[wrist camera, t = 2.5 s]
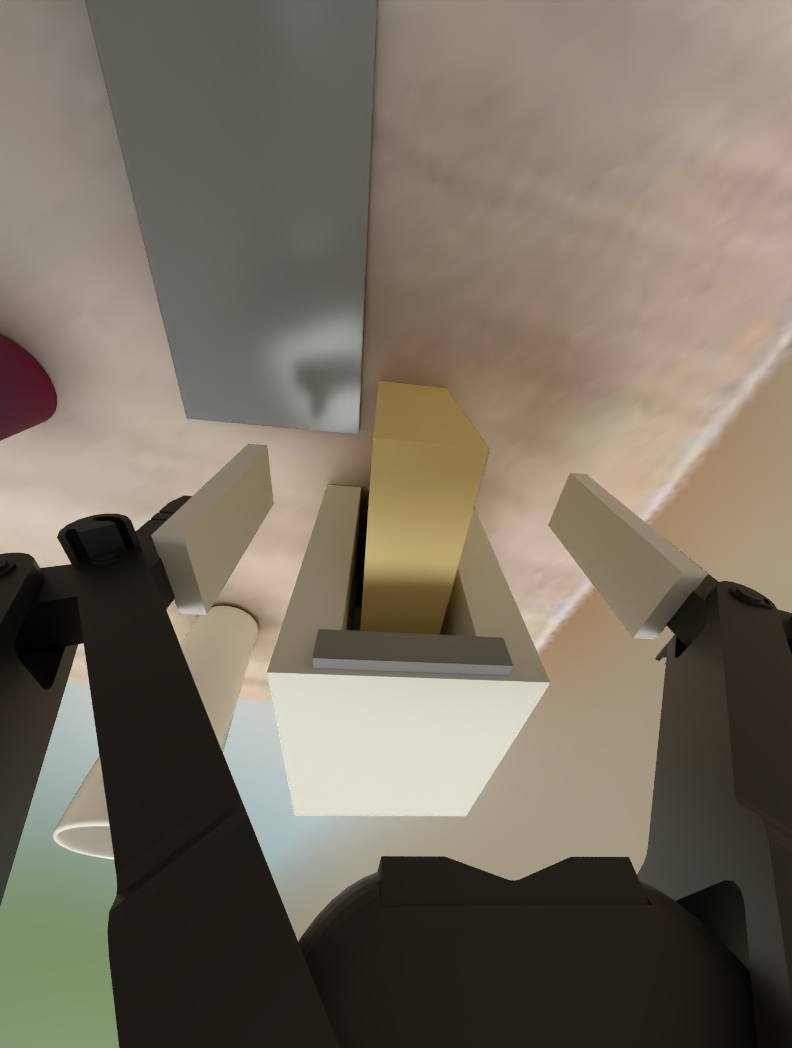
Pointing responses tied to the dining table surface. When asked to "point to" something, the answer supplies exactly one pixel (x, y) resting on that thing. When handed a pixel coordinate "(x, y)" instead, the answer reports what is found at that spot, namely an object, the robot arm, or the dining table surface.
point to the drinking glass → (218, 674)
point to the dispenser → (397, 684)
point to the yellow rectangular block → (417, 506)
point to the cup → (22, 390)
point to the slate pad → (251, 194)
